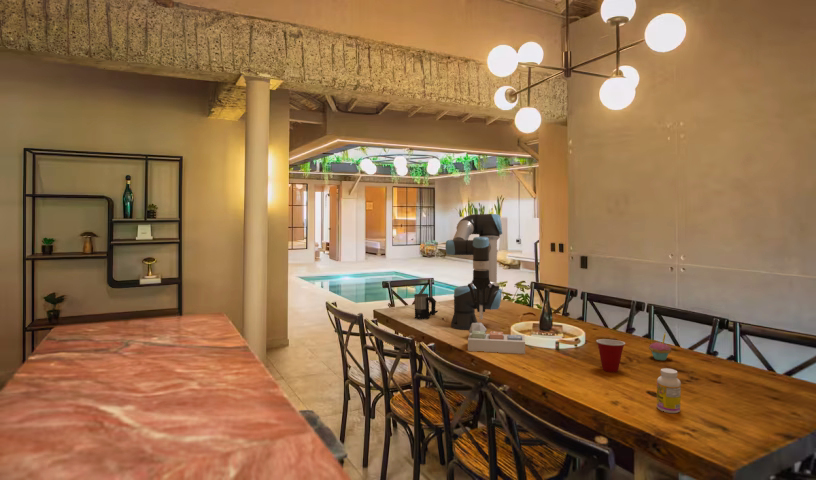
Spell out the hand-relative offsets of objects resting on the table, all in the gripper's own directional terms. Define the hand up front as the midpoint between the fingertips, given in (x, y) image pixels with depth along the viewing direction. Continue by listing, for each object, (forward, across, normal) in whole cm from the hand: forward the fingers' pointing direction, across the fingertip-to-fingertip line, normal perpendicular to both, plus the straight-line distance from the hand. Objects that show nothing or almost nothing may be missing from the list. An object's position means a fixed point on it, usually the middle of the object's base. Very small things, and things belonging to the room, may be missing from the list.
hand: (481, 318), depth 218 cm
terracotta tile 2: (+10, +7, 0) cm, 12 cm away
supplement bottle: (+14, +62, -61) cm, 88 cm away
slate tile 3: (+11, +16, -1) cm, 19 cm away
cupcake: (+14, +77, -5) cm, 79 cm away
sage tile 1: (+10, -1, 0) cm, 10 cm away
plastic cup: (+14, +52, -24) cm, 59 cm away
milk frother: (+15, -36, +63) cm, 74 cm away
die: (+15, -2, +18) cm, 23 cm away
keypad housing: (+14, +7, 0) cm, 16 cm away
